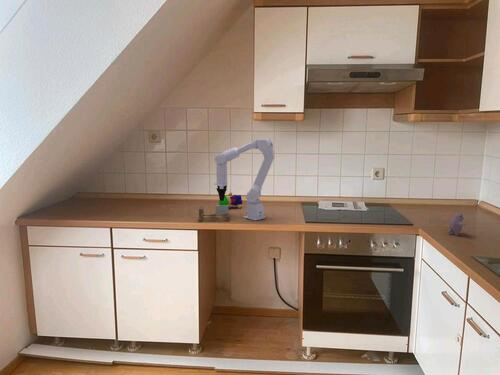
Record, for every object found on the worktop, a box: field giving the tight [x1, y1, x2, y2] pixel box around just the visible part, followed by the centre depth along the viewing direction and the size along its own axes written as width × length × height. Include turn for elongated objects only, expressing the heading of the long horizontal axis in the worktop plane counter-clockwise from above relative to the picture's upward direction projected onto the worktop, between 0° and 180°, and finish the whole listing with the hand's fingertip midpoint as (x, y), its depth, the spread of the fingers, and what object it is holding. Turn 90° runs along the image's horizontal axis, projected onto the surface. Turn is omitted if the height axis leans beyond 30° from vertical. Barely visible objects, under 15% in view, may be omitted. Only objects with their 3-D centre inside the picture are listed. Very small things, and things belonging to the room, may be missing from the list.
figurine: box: [447, 212, 466, 237], centre depth 173 cm, size 12×6×10 cm, turn 170°
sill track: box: [198, 205, 230, 223], centre depth 199 cm, size 16×7×7 cm, turn 93°
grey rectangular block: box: [215, 204, 229, 214], centre depth 208 cm, size 7×2×6 cm, turn 93°
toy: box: [218, 191, 243, 209], centre depth 227 cm, size 12×9×15 cm
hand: (222, 199), depth 207 cm, fingers open, 7 cm apart
